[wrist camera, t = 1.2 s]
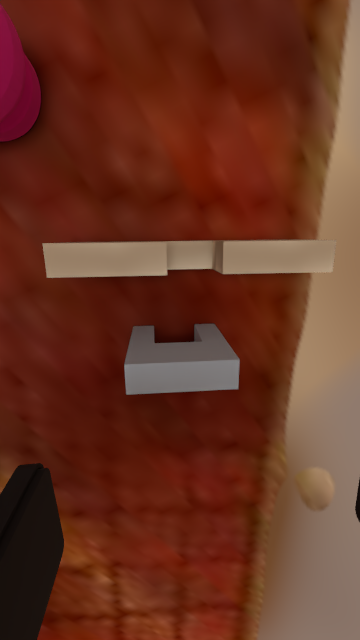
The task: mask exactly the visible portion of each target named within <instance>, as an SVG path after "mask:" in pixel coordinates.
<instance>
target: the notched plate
mask: <svg viewBox="0 0 360 640" xmlns="http://www.w3.org/2000/svg"><path fill="white" fill-rule="evenodd" d="M239 361H240V359H239V358H238V357H237V355H236V354H235V352H234V351H233V350H232V348H231V347H230V345H229V344H228V342H227V341H226V340H225V338H224V337H223V335H222V334H221V332H220V331H219V330H218V328H217V327H216V325H215V324H194V342H178V343H155V341H154V326H133V330H132V334H131V338H130V343H129V347H128V351H127V355H126V359H125V363H124V368H125V384H126V395H130V394H149V393H169V392H189V391H208V390H228V389H238V383H239Z"/></svg>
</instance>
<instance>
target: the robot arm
mask: <svg viewBox="0 0 360 640" xmlns="http://www.w3.org/2000/svg"><path fill="white" fill-rule="evenodd" d="M355 508H356V509H355V510H356V514H357V518H358V520H359V522H360V480H359V486H358V493H357V500H356V507H355ZM63 548H64V538H63V533H62V528H61V523H60V518H59V514H58V509H57V504H56V499H55V494H54V489H53V484H52V480H51V475H50V471H49V469H48V468H44V467H43V465H42V464H41V463H37V464H26V465H20V466H18V467H17V468H16V470H15V471H14V473H13V475H12V476H11V478H10V479H9V481H8V483H7V484H6V486H5V488H4V489H3V491H2V493H1V494H0V640H37V637H38V634H39V631H40V627H41V624H42V621H43V617H44V614H45V611H46V607H47V604H48V601H49V597H50V594H51V591H52V587H53V584H54V581H55V577H56V574H57V571H58V567H59V564H60V561H61V557H62V554H63Z"/></svg>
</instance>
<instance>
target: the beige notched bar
mask: <svg viewBox="0 0 360 640" xmlns="http://www.w3.org/2000/svg"><path fill="white" fill-rule="evenodd" d="M335 248H336V240H222V241H134V242H65V243H43V250H44V258H45V266H46V273H47V278H59V277H108V276H158V275H167V270H171V269H214V270H216V271H218V272H219V273H221V274H256V273H305V272H332V271H333V264H334V256H335Z"/></svg>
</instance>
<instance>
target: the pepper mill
mask: <svg viewBox="0 0 360 640" xmlns="http://www.w3.org/2000/svg"><path fill="white" fill-rule="evenodd" d="M40 104H41V90H40V84H39V80H38V77H37V74H36V72H35V70H34V68H33V66H32V64H31V62H30V61H29V59H28V58H27V57H26V55H25V54H24V52H23V48H22V45H21V41H20V39H19V36H18V34H17V31H16V29H15V26H14V24H13V23H12V21H11V19H10V17H9V15H8V14H7V12H6V11H5V10H4V8H3V7H2V5H1V4H0V142H2V141H10V140H14V139H16V138H18V137H20V136H22V135H24V134H25V133H26V132H28V131H29V130H30V129H31V127H32V126H33V124H34V123H35V121H36V119H37V117H38V114H39V110H40Z"/></svg>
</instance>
